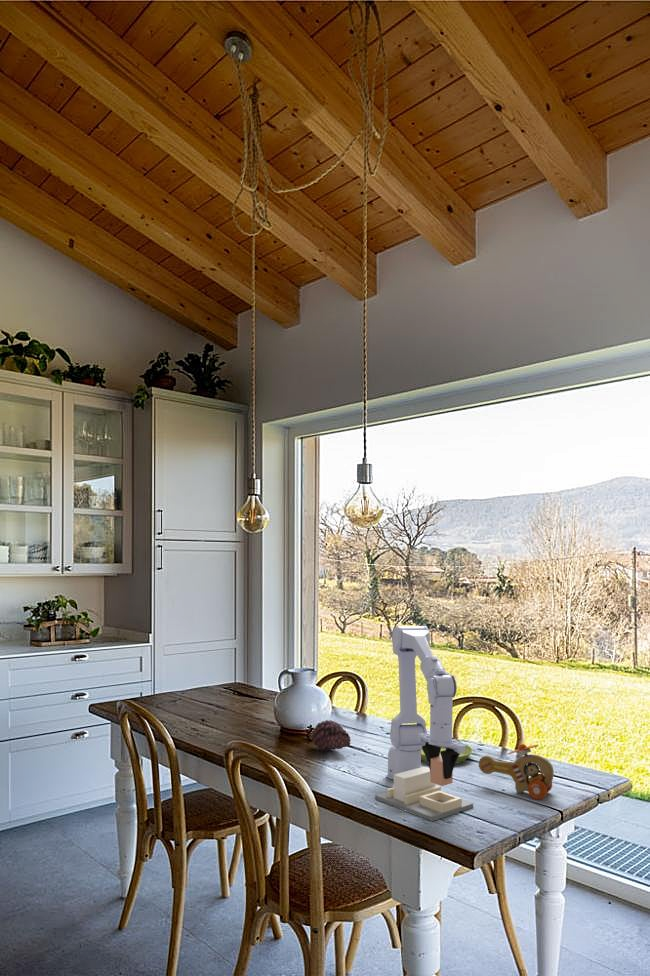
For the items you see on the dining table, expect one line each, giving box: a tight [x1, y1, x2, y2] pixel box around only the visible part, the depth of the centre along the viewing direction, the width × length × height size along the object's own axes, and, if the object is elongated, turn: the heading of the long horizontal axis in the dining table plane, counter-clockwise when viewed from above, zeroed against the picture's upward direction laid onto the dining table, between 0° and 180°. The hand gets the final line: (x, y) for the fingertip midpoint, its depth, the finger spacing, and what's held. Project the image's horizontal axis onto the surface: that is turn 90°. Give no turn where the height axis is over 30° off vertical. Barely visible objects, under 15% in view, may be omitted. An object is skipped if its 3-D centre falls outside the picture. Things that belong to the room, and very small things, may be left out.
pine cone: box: [309, 719, 351, 752], centre depth 244 cm, size 18×10×10 cm, turn 41°
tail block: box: [430, 756, 454, 787], centre depth 194 cm, size 4×4×6 cm
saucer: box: [421, 741, 473, 764], centre depth 240 cm, size 21×21×3 cm
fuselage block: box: [393, 766, 436, 802], centre depth 201 cm, size 4×12×6 cm, turn 130°
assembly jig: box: [375, 785, 474, 822], centre depth 197 cm, size 20×16×3 cm
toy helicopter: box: [478, 743, 555, 800], centre depth 209 cm, size 8×21×14 cm, turn 60°
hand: (440, 775), depth 194 cm, fingers closed on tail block, 4 cm apart
